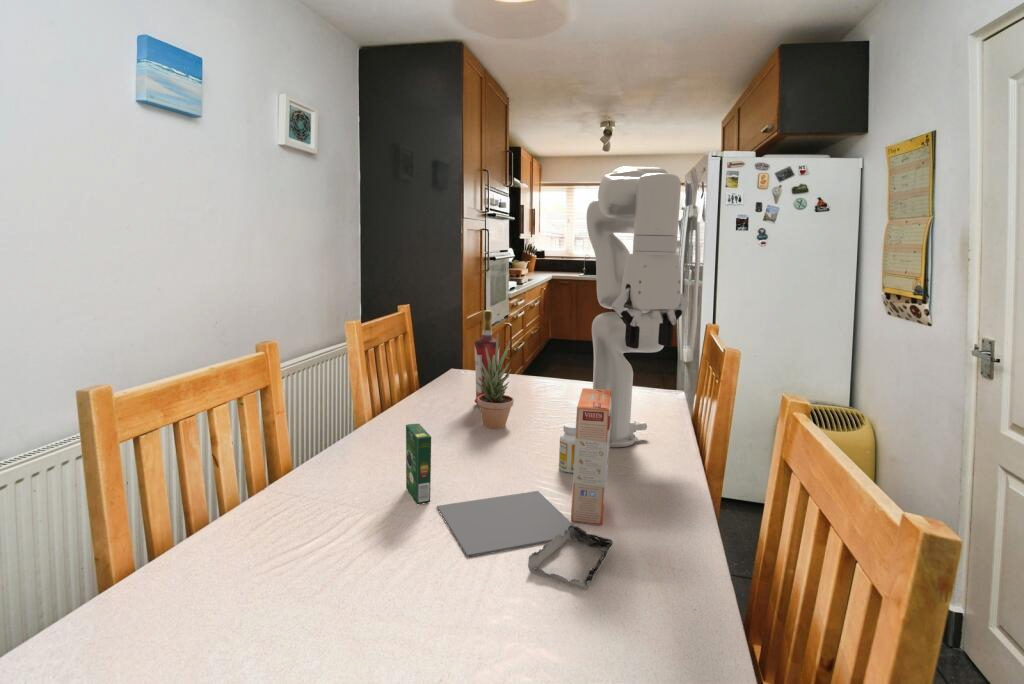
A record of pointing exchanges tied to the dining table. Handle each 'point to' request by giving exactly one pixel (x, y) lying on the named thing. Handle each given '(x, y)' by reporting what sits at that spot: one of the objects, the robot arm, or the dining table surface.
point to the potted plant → (495, 392)
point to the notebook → (503, 522)
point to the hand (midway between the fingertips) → (648, 345)
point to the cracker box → (591, 456)
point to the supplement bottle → (567, 448)
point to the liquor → (484, 351)
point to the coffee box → (418, 463)
